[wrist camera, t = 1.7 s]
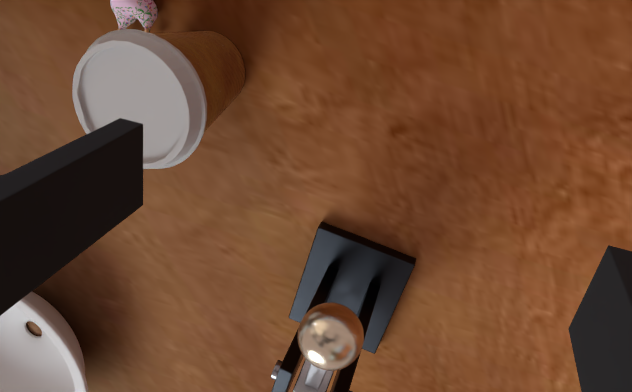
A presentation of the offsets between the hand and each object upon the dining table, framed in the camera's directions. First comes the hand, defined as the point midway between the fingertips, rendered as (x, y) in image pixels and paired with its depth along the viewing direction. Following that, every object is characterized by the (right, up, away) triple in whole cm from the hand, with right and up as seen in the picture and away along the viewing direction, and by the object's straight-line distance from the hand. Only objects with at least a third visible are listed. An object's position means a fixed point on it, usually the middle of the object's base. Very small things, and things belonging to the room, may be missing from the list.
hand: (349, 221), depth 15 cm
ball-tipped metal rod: (0, -9, +20) cm, 22 cm away
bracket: (+2, -8, +36) cm, 37 cm away
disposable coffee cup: (-10, +11, +31) cm, 34 cm away
